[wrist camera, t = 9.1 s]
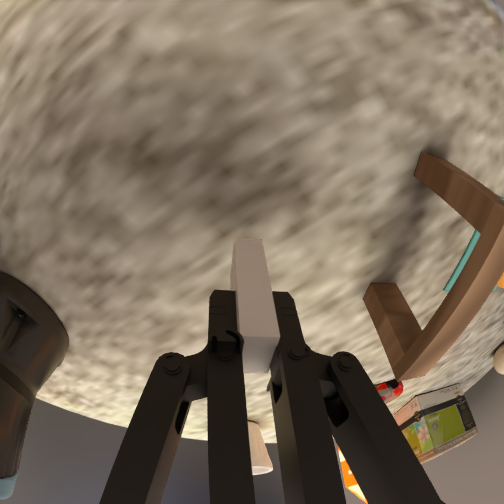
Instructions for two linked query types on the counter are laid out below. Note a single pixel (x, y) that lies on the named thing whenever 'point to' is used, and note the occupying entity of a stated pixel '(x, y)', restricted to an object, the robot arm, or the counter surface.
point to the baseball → (499, 360)
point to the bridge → (463, 290)
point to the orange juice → (350, 479)
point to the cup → (258, 450)
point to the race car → (390, 390)
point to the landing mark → (464, 261)
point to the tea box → (436, 422)
